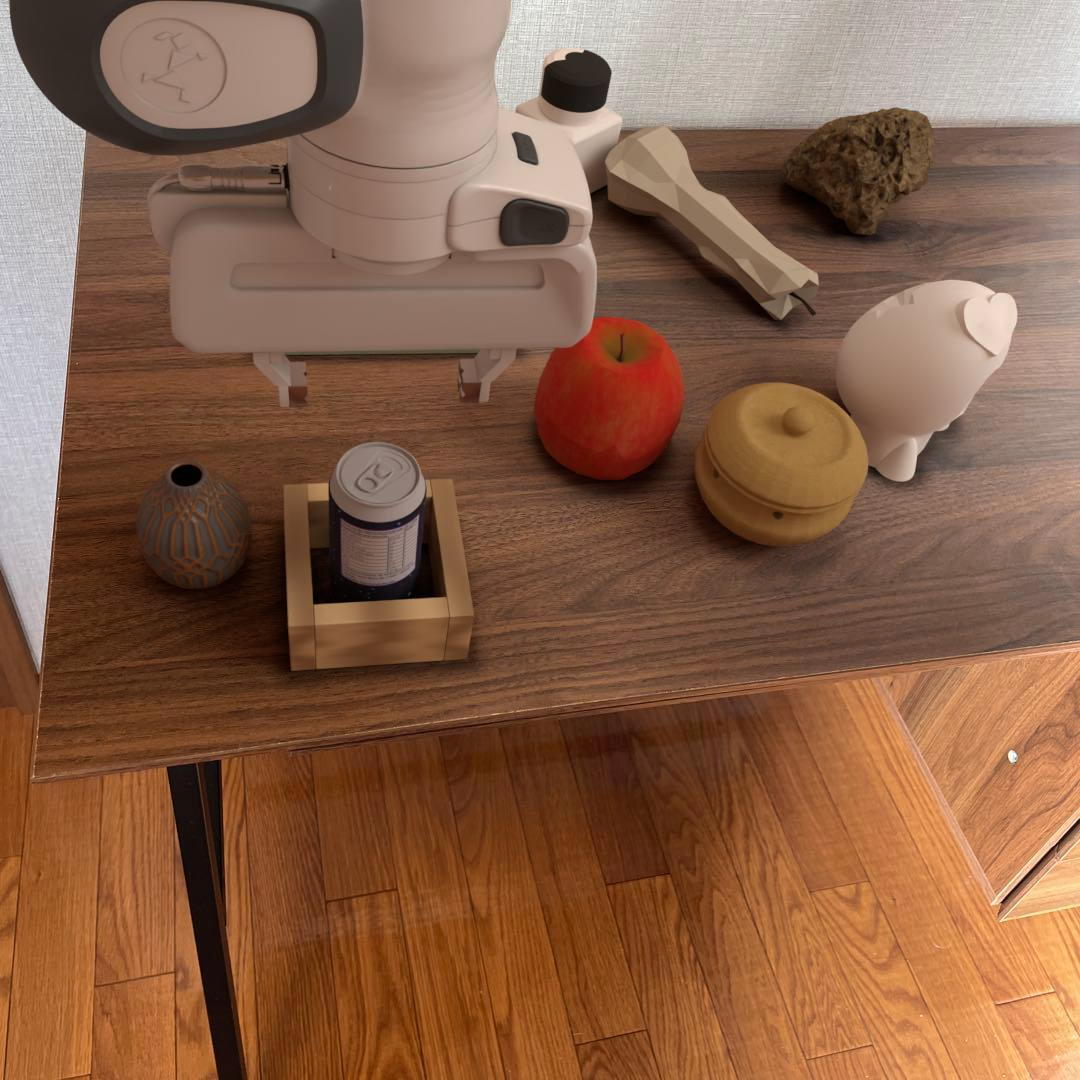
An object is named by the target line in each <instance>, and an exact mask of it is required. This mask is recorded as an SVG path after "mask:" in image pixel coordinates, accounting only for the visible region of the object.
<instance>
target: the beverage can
mask: <svg viewBox="0 0 1080 1080" xmlns="http://www.w3.org/2000/svg"><path fill="white" fill-rule="evenodd" d="M425 480H426V479H425V477H424V475H423V473H422V470H421V466H420V465H419V462H418V461H417V460H416V458H415V457H414V456H413V455H412V454H411V453H410V452H409V451H407V450H406V449H405V448H403V447H401V446H398V445H396V444H393V443H388V442H381V441H373V442H372V441H371V442H367V443H361V444H358V445H356V446H353V447H351V448H350V449H349V450H347V451H345V453H343V454H342V455H341V457H340V458H339V459H338V462H337V463H336V465H335V469H334V470H333V472H332V473H331V475H330V477H329V480H328V483H329V488H328V489H329V548H328V553H329V555H328V556H329V558H328V559H329V560H328V561H329V562H328V563H329V564H328V565H329V592H330V596H331V598H332V600H333V603H350V602H368V601H385V600H403V599H417V595H418V590H419V579H420V568H421V560H422V559H421V558H422V547H423V543H422V537H423V526H424V515H425V504H426V493H427V487H426V482H425Z"/></svg>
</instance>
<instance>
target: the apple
mask: <svg viewBox="0 0 1080 1080" xmlns="http://www.w3.org/2000/svg"><path fill="white" fill-rule="evenodd" d="M685 396H686V391H685V384H684V377H683V372H682V369H681V366H680V364H679V361H678V358H677V357H676V355H675V353H674V351H673V349H672V348H671V346H670V345H669V343H668V341H667V339H665V337H663V336H662V335H661V334H659V333H658V332H656V331H655V330H653V329H652V328H651V327H649V326H648V325H647V324H646V323H644V322H642V321H638V320H633V319H630V318H625V317H616V316H615V317H614V316H598V317H593V322H592V326H591V329H590V332H589V333H588V334H587V335H586V336H585V337H584V338H583V339H581V340H580V341H579V342H578V343H576V344H575V345H574V346H572V347H569V348H553V350H552V352H551V353H550V355H549V357H548V359H547V361H546V364H545V366H544V368H543V371H542V373H541V374H540V378H539V380H538V384H537V388H536V392H535V396H534V406H533V412H534V417H535V422H536V426H537V427H536V428H537V432H538V436H539V438H540V440H541V443H542V445H543V448H544V450H545V451H546V452H547V453H548V454H549V455H550V456H551V457H552V458H553V459H554V460H555V461H556V462H557V463H559V464H561V465H562V466H564V467H565V468H567V469H568V470H570V471H572V472H574V473H575V474H577V475H581V476H584V477H589V478H592V479H596V480H599V481H600V480H602V481H603V480H604V481H622V480H623V479H627V478H629V477H630V476H633V475H636V474H637V473H641V472H642V471H644V470H645V469H646V468H648V467H649V466H650V465H652V464H653V463H655V461H656V460H657V459H658V458H659V457H660V456H661V454H662V453H663V452H664V451H665V450H666V449H667V447H668V445H669V444H670V442H671V440H672V438H673V436H674V434H675V432H676V430H677V428H678V426H679V424H680V422H681V418H682V412H683V406H684V401H685Z"/></svg>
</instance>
